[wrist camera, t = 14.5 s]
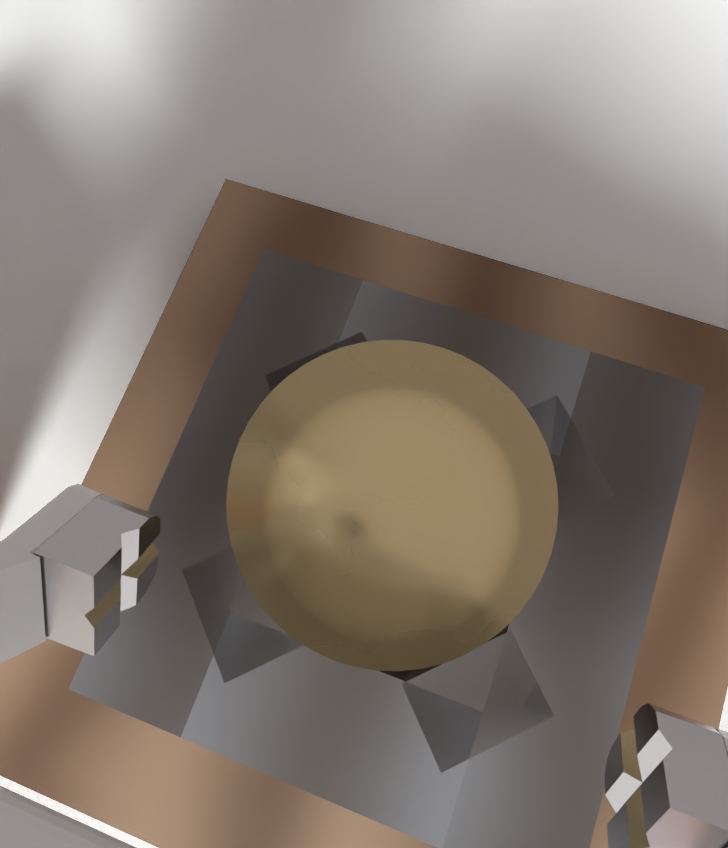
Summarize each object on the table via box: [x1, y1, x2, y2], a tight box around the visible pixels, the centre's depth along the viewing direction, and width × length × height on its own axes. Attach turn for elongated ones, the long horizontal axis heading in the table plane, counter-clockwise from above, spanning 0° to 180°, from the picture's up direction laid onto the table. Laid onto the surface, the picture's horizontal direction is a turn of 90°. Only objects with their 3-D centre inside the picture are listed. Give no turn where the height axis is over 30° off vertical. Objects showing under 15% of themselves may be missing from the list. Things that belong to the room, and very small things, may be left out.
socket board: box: [0, 179, 728, 848], centre depth 18 cm, size 20×20×5 cm
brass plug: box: [226, 340, 558, 671], centre depth 14 cm, size 4×4×11 cm
